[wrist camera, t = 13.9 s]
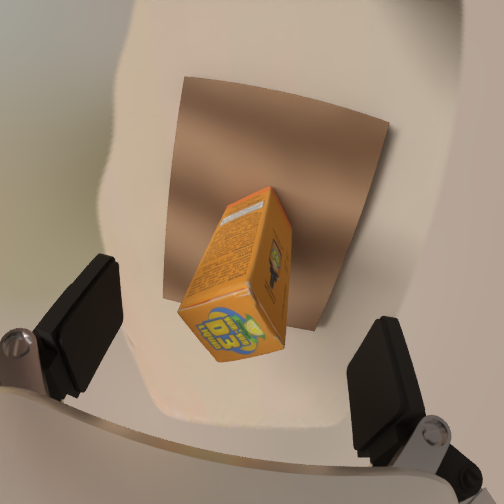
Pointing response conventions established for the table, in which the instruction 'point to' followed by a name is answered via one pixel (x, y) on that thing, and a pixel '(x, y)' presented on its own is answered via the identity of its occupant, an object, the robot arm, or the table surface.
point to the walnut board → (269, 180)
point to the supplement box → (243, 281)
